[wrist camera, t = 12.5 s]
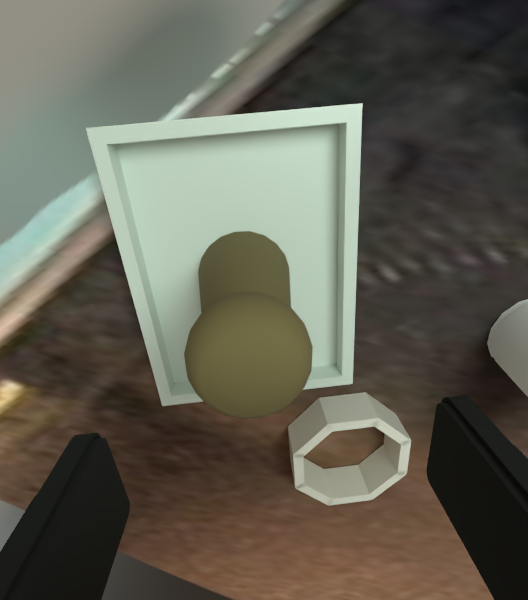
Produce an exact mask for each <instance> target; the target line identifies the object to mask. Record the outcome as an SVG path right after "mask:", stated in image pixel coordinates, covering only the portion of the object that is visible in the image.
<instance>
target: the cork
mask: <svg viewBox="0 0 528 600" xmlns="http://www.w3.org/2000/svg"><path fill="white" fill-rule="evenodd" d="M198 276H199V289H200V302H201V314H200V316H199V317H198V319H197V320H196V322H195V323H194V325H193V326H192V328H191V329H190V332H189V336H188V340H187V344H186V348H185V352H184V358H185V365H186V372H187V377H188V380H189V382H190V384H191V386H192V387H193V389H194V391H195V393H196V394H197V395H198V396H199V397H200V398H201V399H202V400H203V401H204V402H205V403H206V404H207V405H209V406H210V407H211V408H212V409H214V410H216V411H218V412H220V413H222V414H225V415H227V416H232V417H237V418H243V419H246V418H260V417H264V416H267V415H270V414H273V413H276V412H278V411H280V410H281V409H283V408H284V407H286V406H288V405H289V404H291V403H292V401H293V400H294V399H295V398H296V397H297V396H298V395H299V394H300V392H301V391H302V390H303V388H304V387H305V385H306V383H307V380H308V378H309V376H310V373H311V370H312V350H313V346H312V343H311V340H310V337H309V334H308V331H307V329H306V326H305V324H304V322H303V321H302V320H301V319H300V318H299V316H298V315H297V314H296V313H295V311H294V310H293V309H292V308H291V296H290V274H289V265H288V262H287V259H286V256H285V254H284V253H283V251H282V250H281V249H280V248H279V246H278V245H277V244H276V243H275V242H274V241H272V240H271V239H269V238H268V237H266V236H265V235H262V234H258V233H255V232H251V231H240V232H232V233H230V234H227V235H224V236H221V237H220V238H218V239H217V240H216V241H215V242H213V243H212V244H211V245H210V246H209V247H208V248H207V250H206V251H205V253H204V255H203V256H202V258H201V261H200V266H199V270H198Z"/></svg>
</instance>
